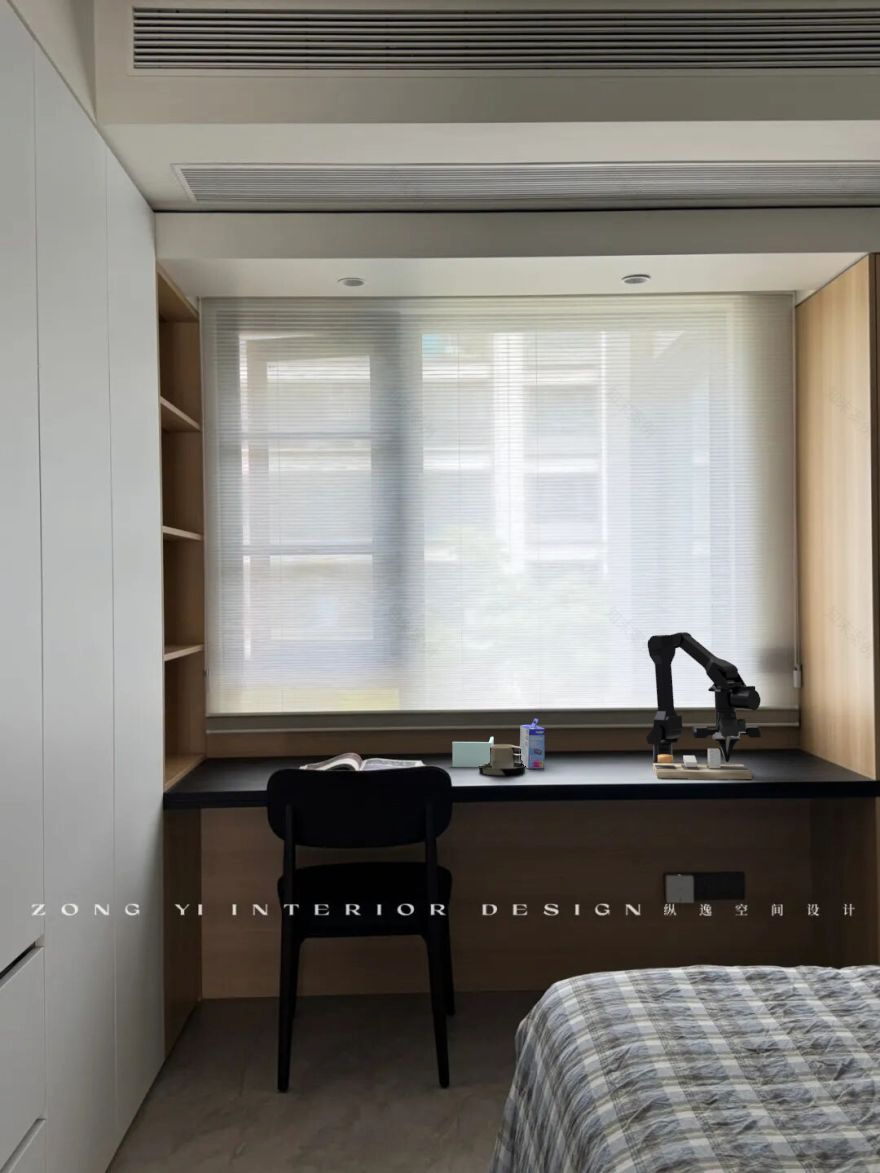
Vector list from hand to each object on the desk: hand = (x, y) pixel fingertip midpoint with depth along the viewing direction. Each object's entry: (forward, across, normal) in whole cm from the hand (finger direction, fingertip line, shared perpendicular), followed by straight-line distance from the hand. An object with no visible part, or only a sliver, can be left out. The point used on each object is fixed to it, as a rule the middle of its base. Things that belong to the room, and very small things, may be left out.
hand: (727, 761), depth 281 cm
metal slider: (+1, -4, 0) cm, 4 cm away
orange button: (0, -17, 0) cm, 17 cm away
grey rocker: (0, -10, 0) cm, 11 cm away
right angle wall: (+2, -75, +14) cm, 76 cm away
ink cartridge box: (+3, -56, +10) cm, 58 cm away
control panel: (+4, -8, 0) cm, 8 cm away
